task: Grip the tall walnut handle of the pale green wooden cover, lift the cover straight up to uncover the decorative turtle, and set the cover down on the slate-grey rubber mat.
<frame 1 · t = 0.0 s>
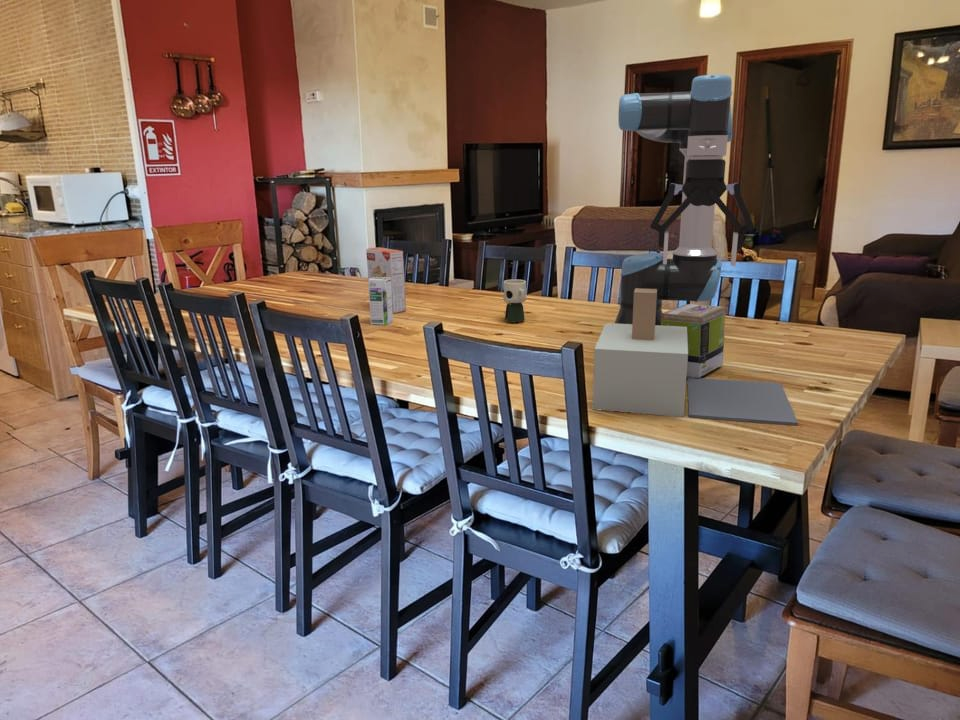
hand: (698, 264, 146), 28 cm above the table, tool pointing down, fingers open, 13 cm apart
decorative turtle: (640, 396, 152), on the table
mat: (737, 400, 148), on the table
cracker box: (387, 310, 241), on the table
syrup box: (382, 323, 222), on the table
cover: (640, 395, 152), on the table
tea box: (691, 370, 168), on the table, touching mat
character mug: (514, 322, 221), on the table
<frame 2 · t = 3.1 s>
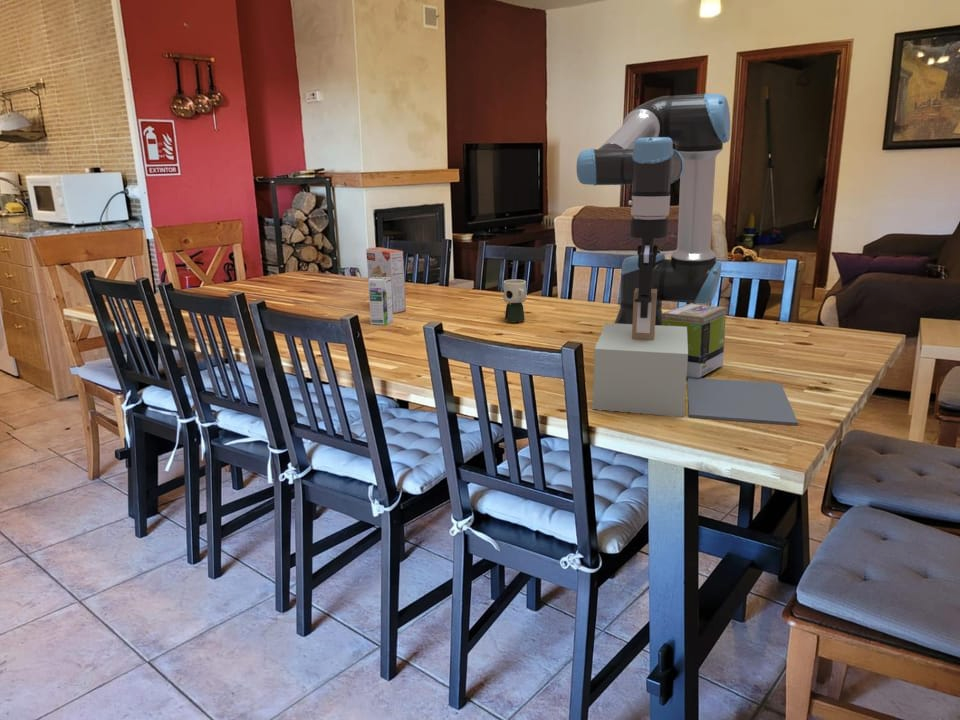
hand: (643, 329, 148), 15 cm above the table, tool pointing down, fingers closed on cover, 4 cm apart
cover: (640, 395, 152), on the table, touching gripper
everything else where it was.
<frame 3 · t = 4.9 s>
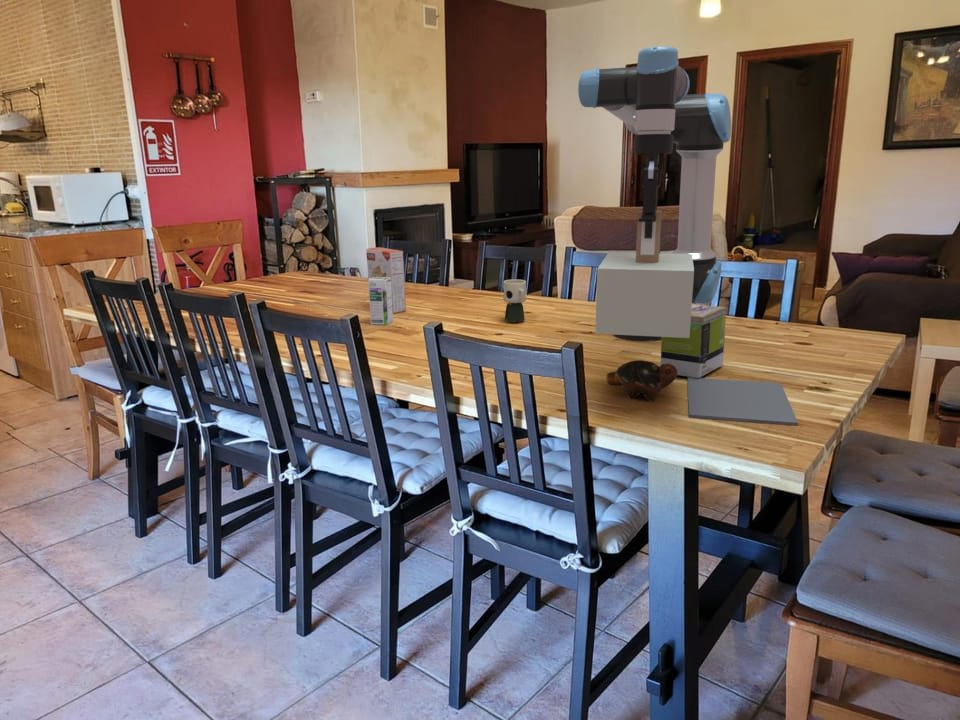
hand: (647, 252, 143), 31 cm above the table, tool pointing down, fingers closed on cover, 4 cm apart
cover: (644, 322, 148), point 16 cm above the table, touching gripper
everything else where it was.
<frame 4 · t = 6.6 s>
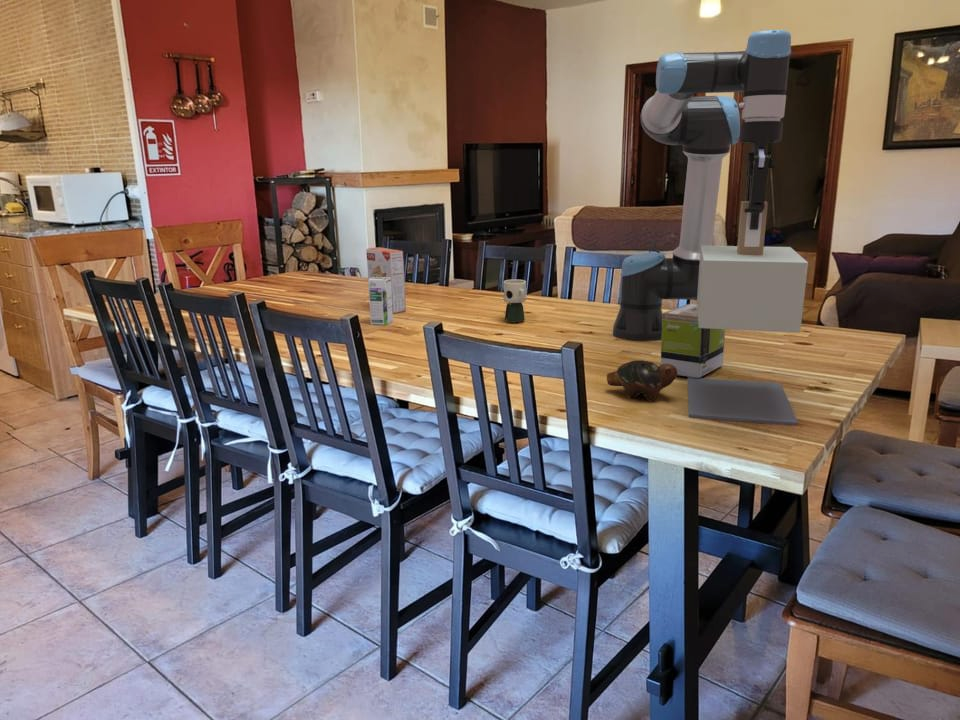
hand: (750, 244, 138), 33 cm above the table, tool pointing down, fingers closed on cover, 4 cm apart
cover: (743, 317, 143), point 18 cm above the table, touching gripper
everything else where it was.
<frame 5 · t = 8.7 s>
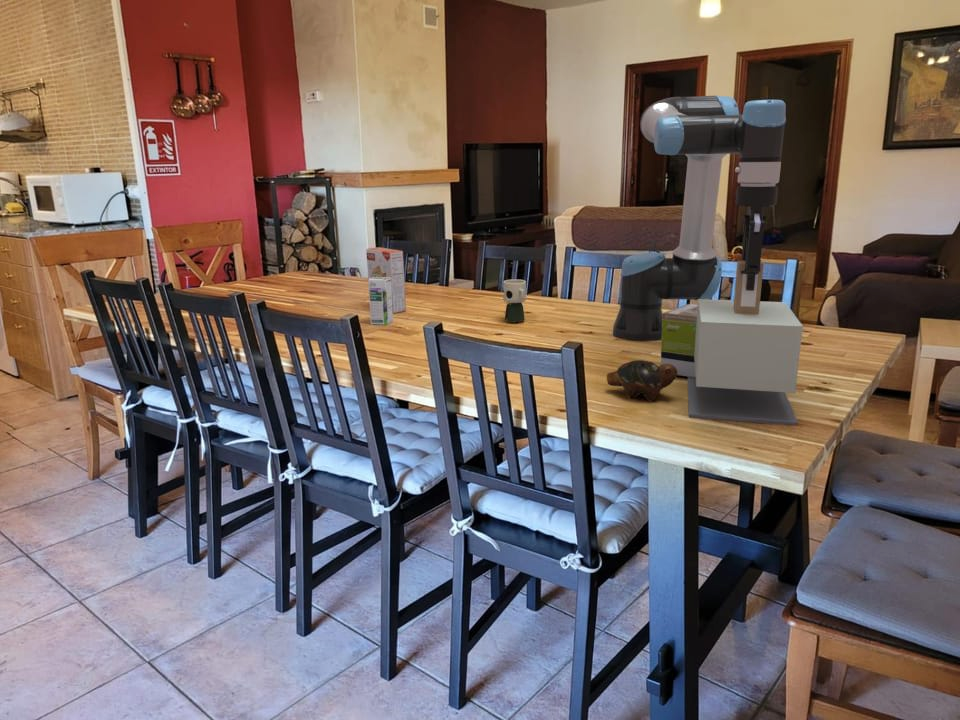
hand: (746, 303, 142), 21 cm above the table, tool pointing down, fingers closed on cover, 4 cm apart
cover: (740, 372, 146), point 6 cm above the table, touching gripper
everything else where it was.
when the fingers open (17 cm above the table, at t = 10.2 s): cover drops 2 cm, resting on mat.
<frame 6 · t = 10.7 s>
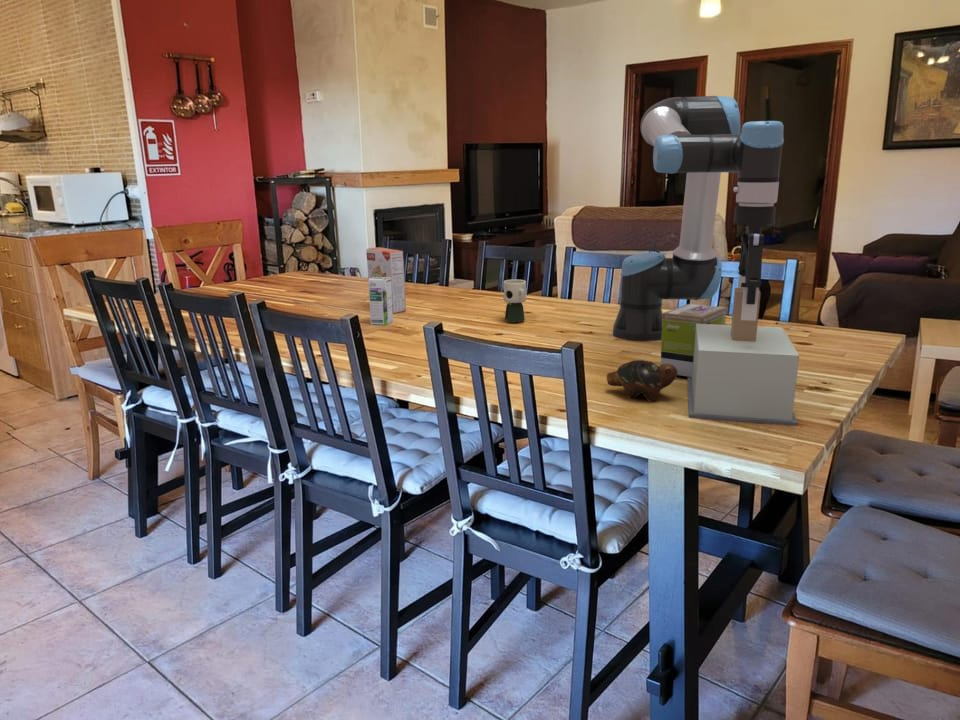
hand: (745, 313, 142), 19 cm above the table, tool pointing down, fingers open, 12 cm apart
cover: (737, 397, 147), point 1 cm above the table, touching mat
everything else where it was.
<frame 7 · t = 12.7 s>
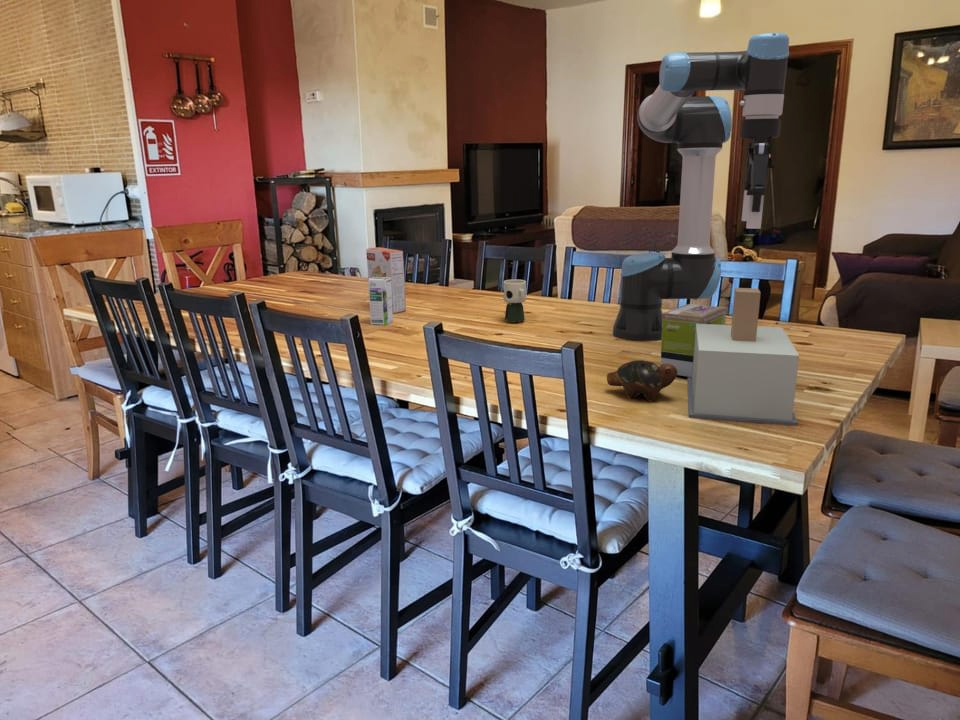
hand: (750, 224, 147), 36 cm above the table, tool pointing down, fingers open, 13 cm apart
nothing on the table moved.
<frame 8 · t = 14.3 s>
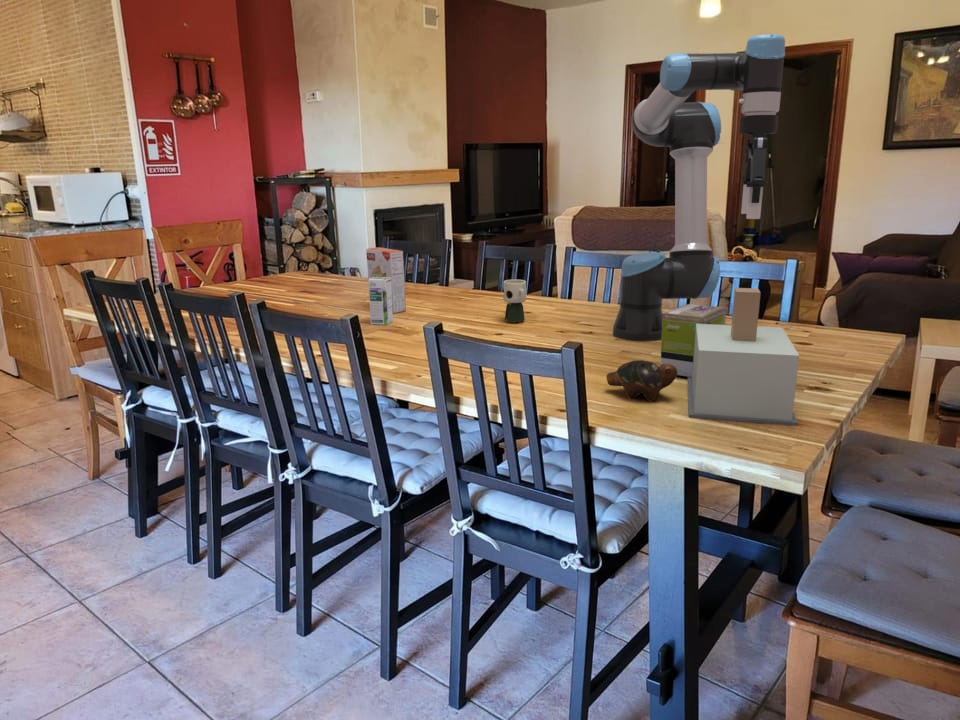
hand: (750, 216, 155), 37 cm above the table, tool pointing down, fingers open, 13 cm apart
nothing on the table moved.
at the end: cover inside the target area on the mat (0.1 cm from its centre), point 0.6 cm above the mat's base; cover tilted 0°; the gripper is holding nothing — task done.
